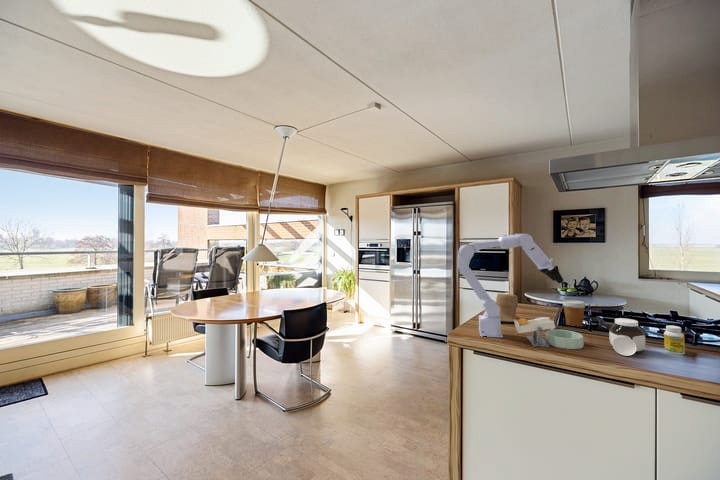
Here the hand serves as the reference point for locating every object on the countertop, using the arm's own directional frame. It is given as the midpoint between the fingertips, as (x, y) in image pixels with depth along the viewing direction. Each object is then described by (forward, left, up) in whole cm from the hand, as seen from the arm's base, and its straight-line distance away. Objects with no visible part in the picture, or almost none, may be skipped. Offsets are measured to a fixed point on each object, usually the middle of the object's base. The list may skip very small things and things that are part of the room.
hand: (558, 280), depth 135 cm
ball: (-16, -8, -17) cm, 25 cm away
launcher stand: (-11, -8, -25) cm, 28 cm away
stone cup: (-19, +25, -26) cm, 41 cm away
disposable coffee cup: (+12, +21, -25) cm, 35 cm away
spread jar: (+18, -14, -26) cm, 34 cm away
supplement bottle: (+34, -11, -25) cm, 44 cm away
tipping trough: (-12, -4, -19) cm, 23 cm away
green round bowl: (-1, -8, -25) cm, 26 cm away
